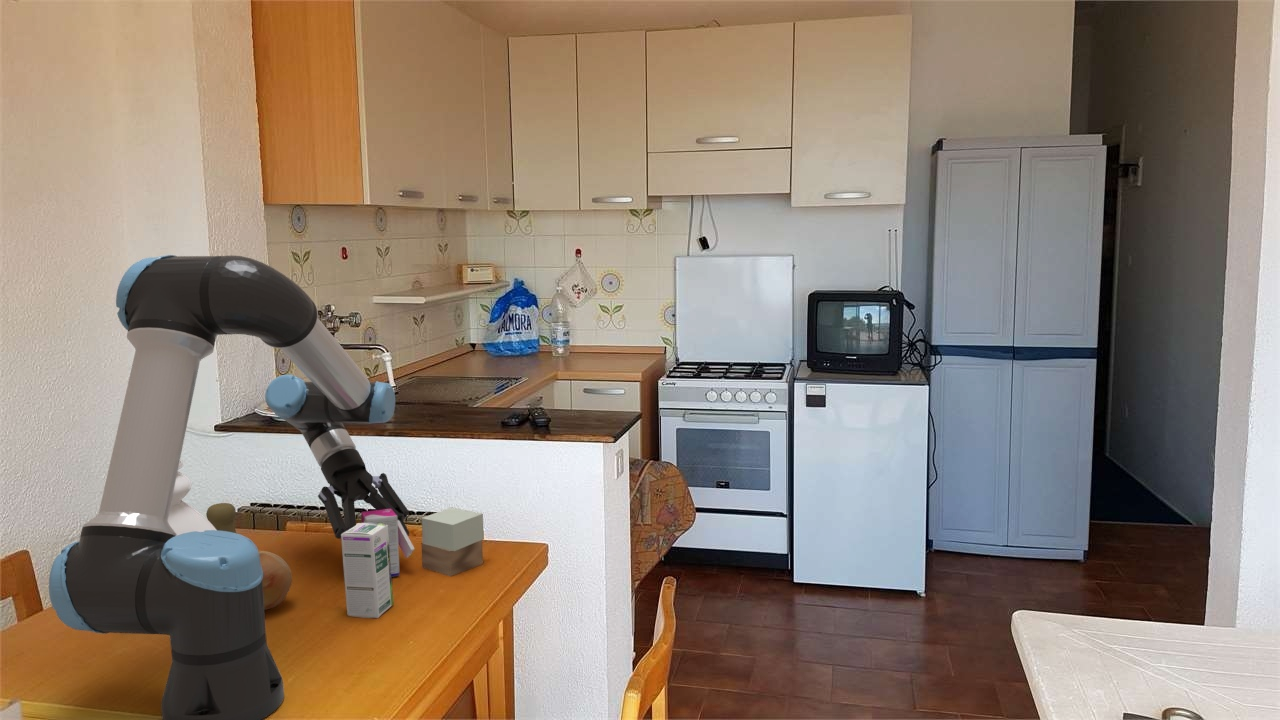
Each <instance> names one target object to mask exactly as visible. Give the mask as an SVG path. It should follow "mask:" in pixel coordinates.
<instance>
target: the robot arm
mask: <svg viewBox="0 0 1280 720" xmlns="http://www.w3.org/2000/svg"><path fill="white" fill-rule="evenodd" d="M115 296H116V297H115V306H116V308H118V312H117V317H118V320H119V321H120V323H121V325H122V326H123V328H124V329H125V330H127V333H126V338H127V340H128V341H129V343H130V344H131V345H132V346H133V348H134V349H135V351H134V356H133V359H132V364H131V365H132V366H131V368H130V373H129V377H128V381H127V382H128V383H127V386H126V387H127V388H126V391H125V395H124V400H123V404H122V408H121V413H120V417H119V422H118V426H117V430H116V435H115V440H114V444H113V448H112V451H111V452H112V453H111V457H110V462H109V466H108V470H107V475H106V479H105V484H104V487H103V493H102V495H101V496H102V497H101V501H100V504H99V505H100V506H99V510H98V514H96V516H94V517H93V518H92V519H90V520H88V521H87V522H85V523H83V525H82V528H81V531H80V532H81V533H80V536H79V540H78V541H73V542H72V543H69V544H68V545H65V547H63V548H62V549H61V551H60V553H59V554H57V555H56V557H55V559H54V560H53V563H52V565H51V568H50V572H49V577H48V594H49V599H50V603H51V607H52V608H53V610H54V611H55V612H56V616H57V618H58V619H59V620H60V621H61V622H62V623H63V624H64V625H65V626H67V627H69V628H71V629H74V630H77V631H84V632H85V631H86V632H93V633H95V634H109V633H111V634H142V635H143V634H144V635H167V636H169V640H170V641H169V642H170V650H171V651H170V652H171V664H170V668H169V671H168V675H167V679H166V682H165V687H164V691H163V693H162V697H161V698H162V699H161V702H160V703H161V704H160V707H161V708H160V710H161V719H162V720H263V719H265V718H266V717H268V716H269V715H271V714H272V713H274V712H275V711H276V710H277V709H278V708H279V707H280V706H281V704H282V703H283V701H284V699H285V690H284V680H283V676H282V674H281V672H280V670H279V667H278V666H277V663H276V661H275V659H274V656H273V655H272V652H271V650H270V648H269V646H268V642H267V634H266V616H265V610H264V599H263V583H262V579H263V570H262V567H261V562H260V557H259V551H260V550H259V548H258V546H257V545H256V544H255V543H254V542H253V540H251V539H250V538H249V537H247V536H244V535H242V534H241V533H237V532H236V533H233V532H227V531H218V530H205V531H204V532H197V531H194V532H188V533H183V534H180V535H177V534H176V533H175V532H174V530H173V529H172V528H171V526H170V525H169V523H168V516H169V511H170V507H171V502H172V497H173V492H174V487H175V482H176V477H177V472H179V470H178V467H179V462H180V460H181V456H182V451H183V448H184V441H185V438H186V432H187V427H188V421H189V417H190V412H191V407H192V403H193V396H194V394H195V393H194V392H195V388H196V382H197V377H198V373H199V367H200V362H201V361H202V360H203V359H205V358H206V357H208V356H210V355H212V353H214V350H215V349H214V348H215V345H216V344H215V343H216V339H217V336H218V335H219V336H221V335H223V336H224V335H246V336H252V337H256V338H259V339H260V340H261V341H262V342H263V343H265V344H266V345H267V346H269V347H271V348H275V349H279V350H280V351H281V352H282V353H283V354H284V355H285V356H286V357H287V358H288V359H289V360H290V361H291V362H292V363H293V364H294V365H295V366H296V368H298V370H300V371H301V373H303V374H304V376H305V377H307V379H309V380H310V381H305V380H304V379H302V378H301V377H298V376H295V375H293V374H283V375H279V376H277V377H275V378H274V379H273V380H272V381H271V382H270V383H269V384H268V386H267V388H266V390H265V395H264V401H265V403H266V405H267V407H268V408H269V409H270V410H271V411H272V412H273V413H274V414H275V416H277V417H278V418H281V419H282V420H284V421H285V422H287V423H288V424H290V425H291V426H293V427H294V428H295V429H296V430H298V431H299V432H300V433H301V435H302V436H303V438H304V439H305V441H306V444H307V445H308V447H309V449H310V450H311V453H312V454H313V456H314V458H315V461H316V462H317V464H318V466H319V467H320V471H321V473H322V474H323V476H324V478H325V480H326V482H327V484H328V485H329V486H323V487H322V488H321V489H320V492H319V493H318V494H317V497H318V499H319V500H320V501H321V503H322V504H323V505H324V508H325V510H326V514H327V517H328V519H329V523H330V526H331V529H332V531H333V534H334V536H335V538H336V539H339V540H340V539H341V534H342V533H344V532H346V531H347V530H349V529H351V528H352V527H354V526H356V524H357V519H356V518H357V517H356V508H355V502H356V501H363V502H365V503H366V504H369V505H370V506H372V507H373V508H374V509H375V510H382V509H392V510H393V511H394V513H395V514H396V515H397V519H398V545H399V549H400V550H401V552H402V553H403V556H404V557H405V558H409V557H410V556H411V555H412V553H413V552H414V550H415V547H414V544H413V542H412V541H411V539H410V538H409V536H410V531H409V529H408V527H407V526H406V524H405V522H404V521H405V519H406V518H408V517H407V516H409V514H410V511H409V509H408V508H407V506H406V505H405V504H404V502H403V500H402V499H401V498H400V497H399V495H398V494H397V492H396V491H395V489H394V488H393V487H392V486H391V485H390V483H389V480H388V476H387V474H386V473H383V472H381V474H380V475H377V476H376V475H372V474H371V473H370V472H369V471H368V470H367V468H366V467H367V466H366V465H365V461H364V460H363V458H362V456H361V454H360V452H359V451H358V450H357V446H356V445H355V443H354V441H353V439H352V437H351V436H350V434H349V431H348V430H347V429H346V427H345V426H344V424H369V425H371V424H381V423H382V424H384V423H387V422H389V421H390V420H391V419H392V417H393V416H394V413H395V408H396V394H395V390H394V388H393V386H392V385H391V384H390V383H388V382H380V381H378V380H376V381H371V380H370V379H369V378H368V377H367V375H366V374H365V373H364V372H363V371H362V370H361V368H360V367H359V366H358V365H357V363H356V362H355V361H354V360H353V358H352V357H351V356H350V355H349V354H348V352H347V351H346V350H345V349H344V348H343V346H342V345H341V344H340V343H339V341H338V340H337V339H336V338H335V337H334V336H333V334H332V333H331V332H330V331H329V329H328V328H327V327H326V326H325V325H324V323H322V321H321V320H320V318H319V312H318V308H317V305H316V303H315V302H314V301H313V300H312V299H311V297H310V296H309V295H308V293H306V291H305V290H304V289H303V288H302V287H300V285H298V284H297V283H296V282H295V281H293V279H291V278H289V277H288V276H286V275H285V274H283V273H282V272H280V271H278V270H277V269H275V268H274V267H272V266H270V265H268V264H266V263H264V262H262V261H259V260H256V259H254V258H252V257H251V258H250V257H248V256H247V257H246V256H242V255H213V256H212V255H195V256H193V255H191V256H190V255H186V256H185V255H184V256H182V255H179V256H178V255H173V254H167V255H161V256H156V257H152V256H151V257H144V258H142V259H141V260H138V261H136V262H135V263H132V265H130V266H129V267H128V269H127V270H126V271H125V272H124V273H123V276H122V277H121V278H120V281H119V284H118V286H117V290H116V295H115ZM335 495H336V496H337V497H339V498H340V499H341V508H342V509H343V510H342V511H343V515H342V513H341V509H340V508H339V504H338V501H337V499H336V497H335Z"/></svg>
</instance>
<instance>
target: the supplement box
mask: <svg viewBox="0 0 1280 720" xmlns="http://www.w3.org/2000/svg"><path fill="white" fill-rule="evenodd" d="M360 516H361V523H381V524H387V525H388V534H389V548H390V562H391V577H392V578H393V577H397V576H400V552H399V551H400V550H399V549H400V546H399V544H398V519H397V515H396V514H395V513H394V511H393V510H392V509H382V510H376V509H375V510H367V511H361V515H360Z"/></svg>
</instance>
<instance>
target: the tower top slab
mask: <svg viewBox="0 0 1280 720" xmlns="http://www.w3.org/2000/svg"><path fill="white" fill-rule="evenodd" d="M421 531H422V532H421V533H422V534H421V535H422V542H423V544H426V545H430V546H434V547H438V548H442V549H446V550H450V551H456V550H459V549H461V548H463V547H466V546H468V545H471V544H473V543H475V542H478V541H480V540H482V541H483V540H484V539H485V535H484V533H485V532H484V513H482V512H481V513H480V512H476V511H474V510H473V511H472V510H467V509H464V508H463V509H462V508H457V507H449V508H446V509H443V510H440V511H438V512H434V513H431V514H430V515H426V516H424V517H421Z"/></svg>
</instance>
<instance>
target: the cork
mask: <svg viewBox="0 0 1280 720" xmlns="http://www.w3.org/2000/svg"><path fill="white" fill-rule="evenodd" d="M235 507H236V506H234V505H233V504H232V503H229V502H219V503H214V504H212V505H210V506H208V508H207V510H206V513H205V514H206V519H207V520H208V521H209V522H210V523H211V524H212V525H213V526H214V527H215V529H216V530H218V531H227V532H233V533H237V532H236V525H235V521H234V519H235V517H236V515H237V514H236V513H237V510H236V508H235Z"/></svg>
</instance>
